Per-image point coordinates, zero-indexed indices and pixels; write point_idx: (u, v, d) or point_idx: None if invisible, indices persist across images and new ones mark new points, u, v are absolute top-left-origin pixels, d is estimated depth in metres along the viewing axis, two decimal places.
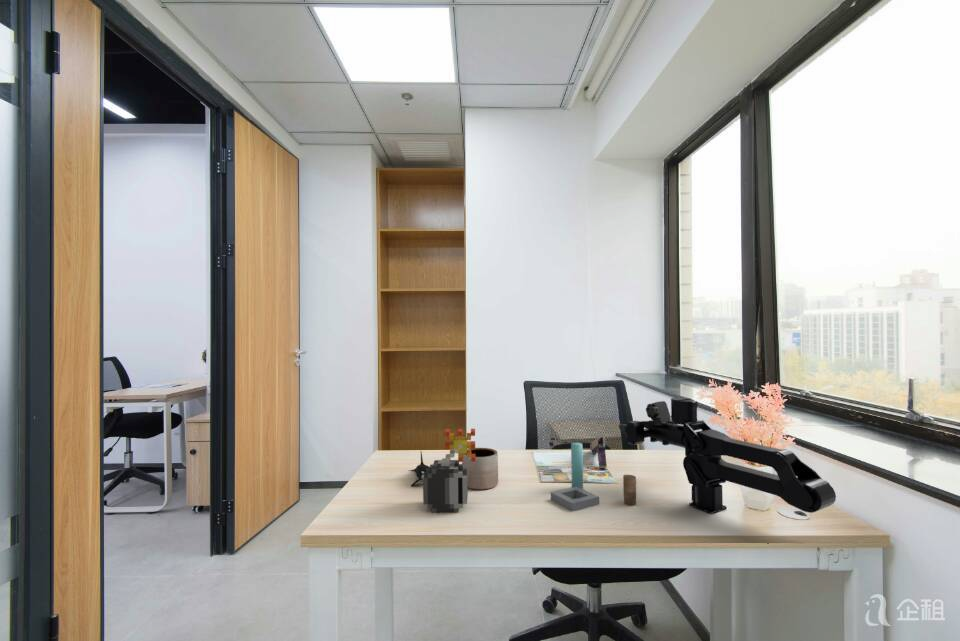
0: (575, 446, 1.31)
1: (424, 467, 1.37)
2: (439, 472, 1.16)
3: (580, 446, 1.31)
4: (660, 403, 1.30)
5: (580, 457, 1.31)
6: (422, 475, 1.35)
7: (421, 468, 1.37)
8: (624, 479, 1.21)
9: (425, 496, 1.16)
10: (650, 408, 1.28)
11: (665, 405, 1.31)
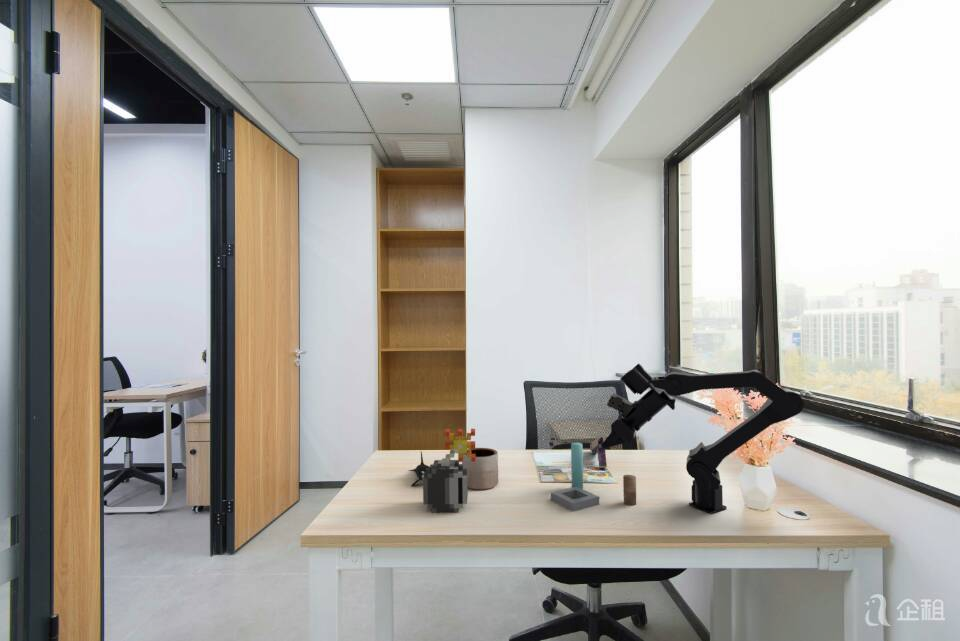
0: (575, 446, 1.31)
1: (424, 467, 1.37)
2: (439, 472, 1.16)
3: (580, 446, 1.31)
4: (614, 395, 1.28)
5: (580, 457, 1.31)
6: (422, 475, 1.35)
7: (421, 468, 1.37)
8: (624, 479, 1.21)
9: (425, 496, 1.16)
10: (614, 400, 1.24)
11: (618, 395, 1.29)
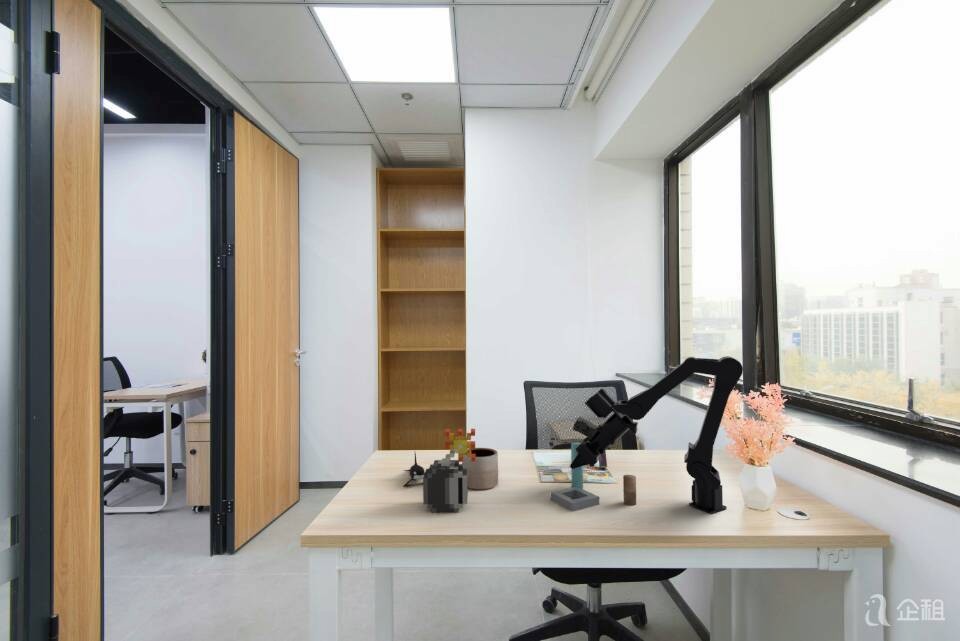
0: (575, 446, 1.31)
1: (416, 468, 1.37)
2: (439, 472, 1.16)
3: None
4: (579, 418, 1.32)
5: None
6: (414, 476, 1.35)
7: (414, 468, 1.37)
8: (624, 479, 1.21)
9: (425, 496, 1.16)
10: (579, 424, 1.27)
11: (584, 419, 1.33)
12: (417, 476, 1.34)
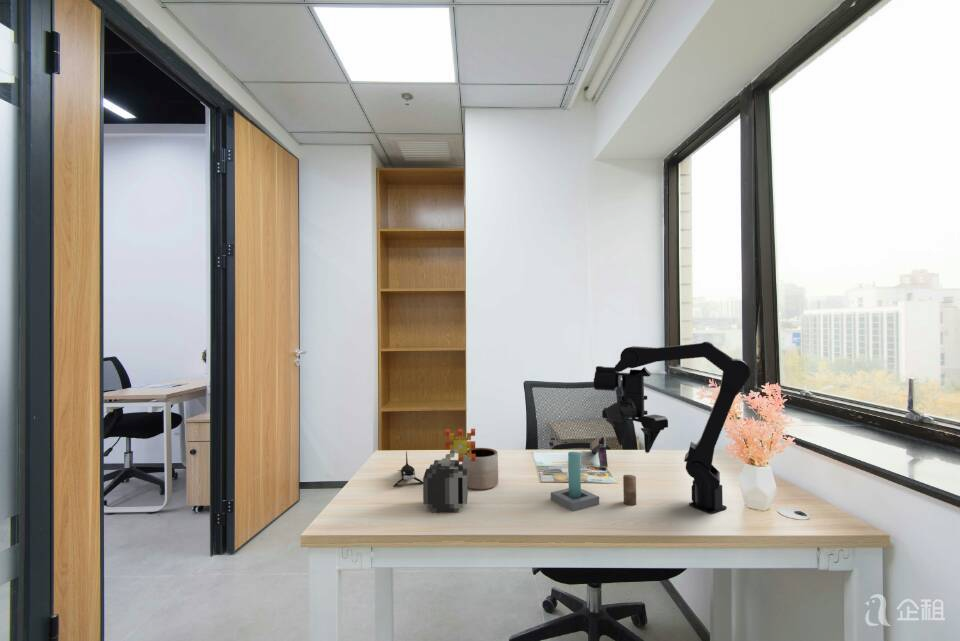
0: (574, 456, 1.21)
1: (406, 468, 1.36)
2: (439, 472, 1.16)
3: (579, 455, 1.21)
4: (612, 410, 1.23)
5: (579, 467, 1.21)
6: (403, 476, 1.35)
7: (404, 469, 1.37)
8: (624, 479, 1.21)
9: (425, 496, 1.16)
10: (626, 412, 1.19)
11: (609, 407, 1.25)
12: (406, 476, 1.33)
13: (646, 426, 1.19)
